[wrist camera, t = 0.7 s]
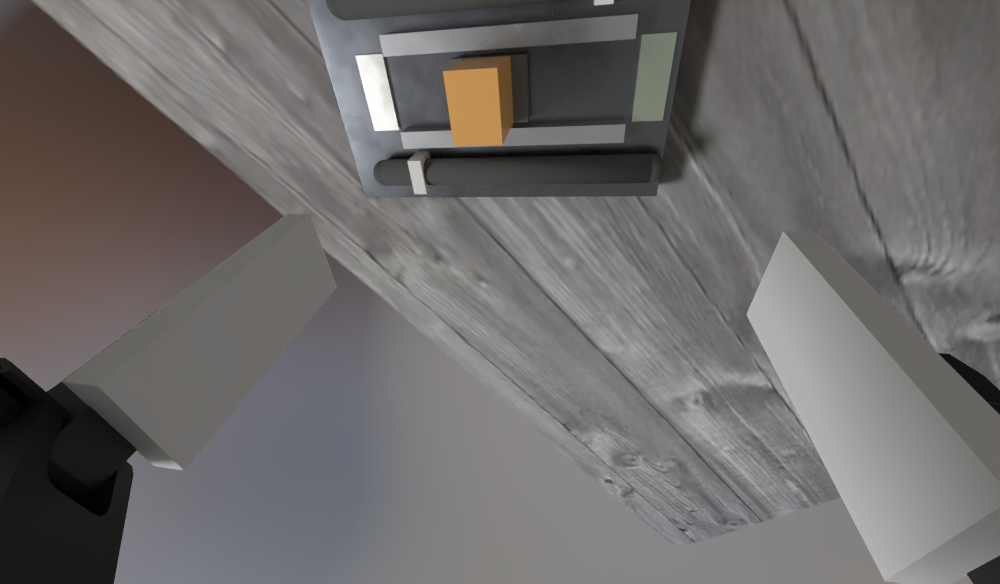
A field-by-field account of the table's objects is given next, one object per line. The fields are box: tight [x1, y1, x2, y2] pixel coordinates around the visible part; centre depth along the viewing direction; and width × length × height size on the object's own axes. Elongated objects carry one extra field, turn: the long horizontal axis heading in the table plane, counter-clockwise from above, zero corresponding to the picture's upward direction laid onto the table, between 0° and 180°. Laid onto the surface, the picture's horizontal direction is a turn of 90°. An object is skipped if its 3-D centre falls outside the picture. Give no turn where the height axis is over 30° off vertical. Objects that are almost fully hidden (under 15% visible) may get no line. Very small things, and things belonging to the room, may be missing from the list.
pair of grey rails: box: [325, 0, 665, 194], centre depth 26 cm, size 14×22×2 cm, turn 94°
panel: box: [307, 0, 691, 197], centre depth 27 cm, size 16×24×3 cm, turn 94°
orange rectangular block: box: [443, 52, 530, 146], centre depth 24 cm, size 4×5×6 cm
